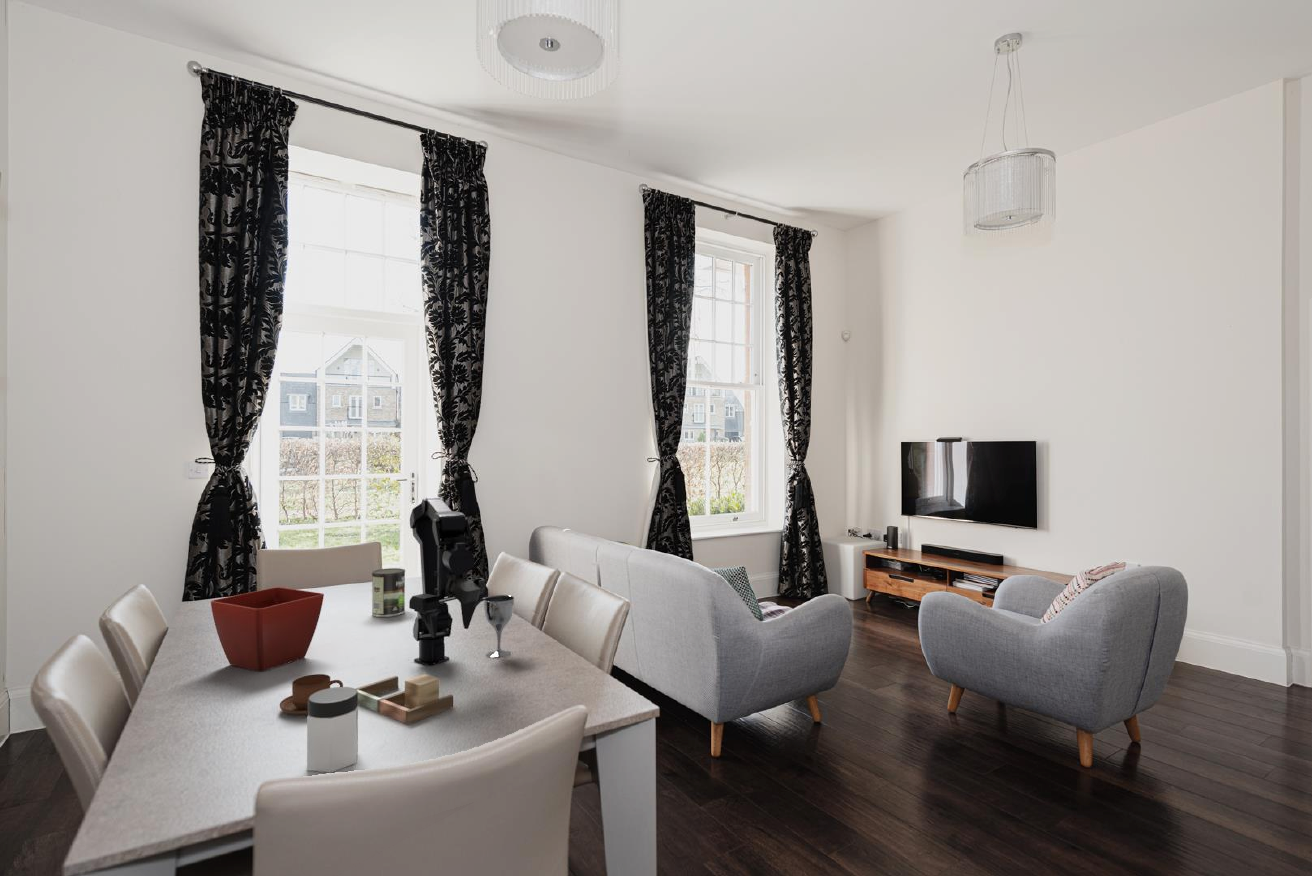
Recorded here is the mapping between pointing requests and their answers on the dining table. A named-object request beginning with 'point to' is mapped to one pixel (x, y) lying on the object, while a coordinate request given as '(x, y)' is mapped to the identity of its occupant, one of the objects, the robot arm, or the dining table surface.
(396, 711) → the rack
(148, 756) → the dining table surface
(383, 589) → the coffee can
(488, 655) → the wine glass
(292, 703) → the cup and saucer
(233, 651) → the plant pot
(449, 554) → the robot arm
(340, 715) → the jar
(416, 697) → the block
